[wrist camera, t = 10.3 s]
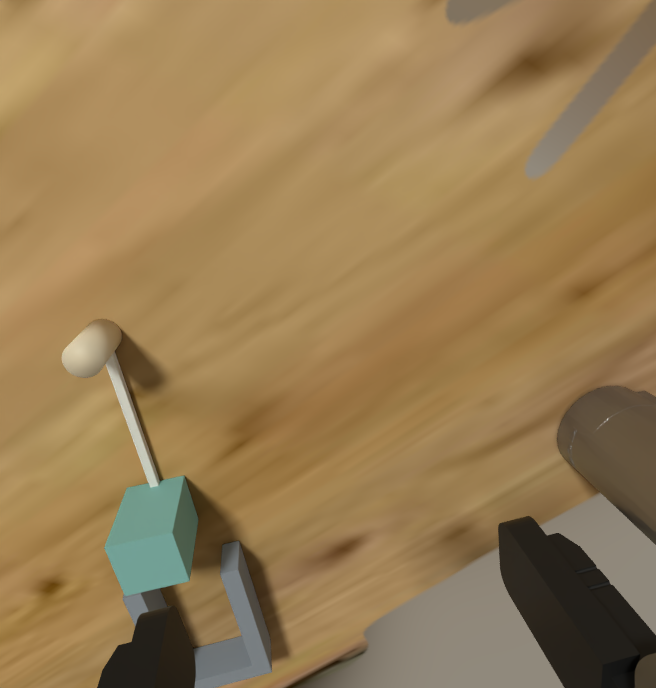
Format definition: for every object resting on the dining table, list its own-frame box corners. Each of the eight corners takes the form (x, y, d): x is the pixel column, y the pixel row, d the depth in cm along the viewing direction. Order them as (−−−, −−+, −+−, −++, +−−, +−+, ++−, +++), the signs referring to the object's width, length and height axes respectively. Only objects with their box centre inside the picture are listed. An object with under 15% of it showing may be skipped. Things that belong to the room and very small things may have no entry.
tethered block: (131, 312, 36) (105, 345, 30) (198, 519, 44) (189, 581, 37) (64, 325, 36) (23, 361, 29) (143, 531, 44) (125, 596, 37)
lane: (239, 540, 45) (238, 569, 42) (270, 639, 51) (271, 672, 48) (131, 567, 45) (122, 598, 41) (175, 664, 50) (169, 699, 47)
